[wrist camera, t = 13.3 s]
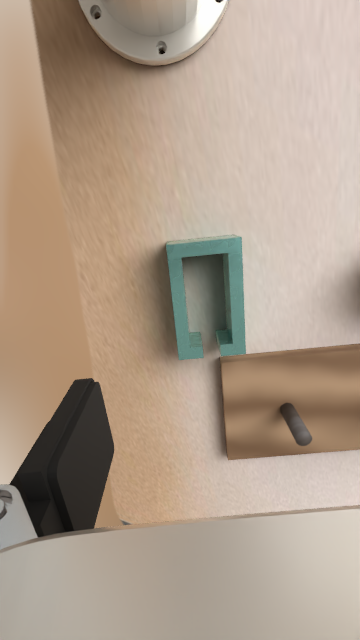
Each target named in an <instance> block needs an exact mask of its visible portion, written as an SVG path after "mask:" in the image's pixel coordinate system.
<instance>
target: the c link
mask: <svg viewBox="0 0 360 640" xmlns="http://www.w3.org/2000/svg"><path fill="white" fill-rule="evenodd" d="M166 249H167V258H168V266H169V275H170V284H171V293H172V302H173V311H174V320H175V329H176V337H177V346H178V355H179V360H184V359H195V358H204V357H203V346H202V340H201V334H200V332H193V333H189V326H188V316H187V306H186V296H185V286H184V276H183V265H182V257H191V256H201V255H211V254H221V253H223V270H224V287H225V305H226V323H227V329H225V330H216V341H217V344H218V347H219V351H220V354H221V356H229V355H240V354H246V346H245V319H244V292H243V264H242V237H240V236H236V235H226V236H217V237H207V238H198V239H188V240H178V241H169V242H167V244H166Z"/></svg>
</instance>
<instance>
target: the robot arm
mask: <svg viewBox="0 0 360 640" xmlns="http://www.w3.org/2000/svg"><path fill="white" fill-rule="evenodd" d="M78 1H79V4H80V6H81V9H82V11H83V12H84V14H85V16H86V18H87V20H88V22H89V24H90V25H91V27H92V28H93V29H94V31H95V32H96V34H97V35H98V36H99V38H100V39H101V40H102V41H103V42H104V43H105V44H106V45H107V46H108V47H110V48H111V49H112V50H113V51H115V52H116V53H118V54H119V55H121V56H122V57H124V58H126V59H129V60H131V61H134V62H136V63H139V64H145V65H152V66H154V65H167V64H170V63H174V62H177V61H180V60H182V59H184V58H186V57H187V56H189V55H191V54H193V53H194V52H195V51H197V50H198V49H199V48H200V47H201V46H202V45H203V44H204V43H206V42H207V40H208V39H209V38H210V36H211V35H212V34H213V33H214V31H215V30H216V29H217V27H218V25H219V23H220V21H221V19H222V17H223V16H224V14H225V11H226V8H227V5H228V3H229V0H220V3H218V2H216V0H78ZM97 16H100V18H99V19H96V17H97ZM161 50H164V51H165V53H164V54H159V52H160V51H161ZM113 454H114V443H113V439H112V434H111V430H110V426H109V422H108V417H107V413H106V409H105V405H104V400H103V396H102V392H101V388H100V384H99V382H94V380H93V379H92V378H89V379H79V380H75V381H74V382H73V384H72V385H71V387H70V389H69V390H68V392H67V394H66V395H65V397H64V398H63V400H62V402H61V404H60V405H59V407H58V408H57V410H56V412H55V413H54V415H53V417H52V418H51V420H50V421H49V422H48V423H47V424H46V426H45V427H44V429H43V431H42V432H41V434H40V436H39V438H38V439H37V440H36V442H35V444H34V445H33V447H32V449H31V450H30V452H29V453H28V455H27V457H26V458H25V460H24V462H23V464H22V465H21V467H20V468H19V470H18V471H17V473H16V475H15V477H14V478H13V480H12V481H11V483H10V484H9V485H0V640H360V505H354V506H342V507H330V508H317V509H305V510H293V511H281V512H269V513H257V514H245V515H233V516H222V517H210V518H199V519H188V520H176V521H165V522H154V523H143V524H133V525H123V526H113V527H104V528H96V529H94V525H95V522H96V518H97V514H98V511H99V507H100V503H101V499H102V496H103V492H104V488H105V484H106V481H107V477H108V473H109V469H110V466H111V462H112V458H113Z"/></svg>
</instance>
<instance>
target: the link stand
mask: <svg viewBox="0 0 360 640" xmlns="http://www.w3.org/2000/svg"><path fill="white" fill-rule="evenodd" d="M220 368H221V382H222V396H223V410H224V425H225V439H226V452H227V457H228V460H235V459H247V458H260V457H272V456H284V455H297V454H309V453H321V452H333V451H346V450H358V449H360V344H351V345H340V346H330V347H319V348H308V349H298V350H287V351H276V352H266V353H255V354H244V355H234V356H223V357H220Z"/></svg>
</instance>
